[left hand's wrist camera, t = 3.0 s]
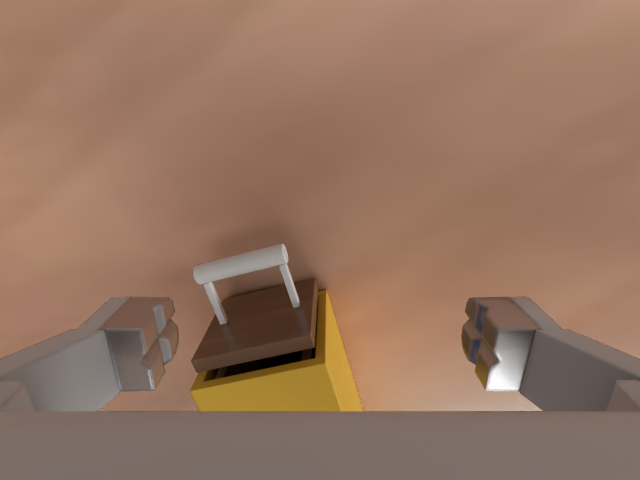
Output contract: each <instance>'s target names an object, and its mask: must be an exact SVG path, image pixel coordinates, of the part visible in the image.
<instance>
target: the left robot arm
mask: <svg viewBox="0 0 640 480" xmlns="http://www.w3.org/2000/svg"><path fill="white" fill-rule="evenodd" d="M174 312H175V310H174V305H173V301H172V300H171V299H170V298H169V297H132V296H126V297H111V298H110V299H109V300H108V301H107V302H106V303H105V304H104V305H102V306H101V307H100V308H99V309H98V310H97V311H96V312H95V313H94V314H93V315H92V316H91V317H90V318H89V319H87V320H86V321H85V322H84V323H83V324H82V325H81V326H80V327H79V328H78V329H77V330H68V331H66V332H64V333H61V334H59V335H56V336H54V337H52V338H49V339H47V340H44V341H42V342H40V343H37V344H35V345H32V346H30V347H28V348H25V349H23V350H21V351H18V352H16V353H13V354H11V355H9V356H6V357H4V358H1V359H0V480H640V359H638V358H636V357H634V356H631V355H629V354H627V353H624V352H622V351H619V350H617V349H615V348H612V347H610V346H607V345H605V344H603V343H600V342H598V341H595V340H593V339H591V338H588V337H586V336H584V335H581V334H579V333H576V332H574V331H572V330H563V329H562V328H561V327H560V326H559V325H558V324H557V323H556V322H555V321H554V320H553V319H552V318H550V317H549V316H548V315H547V314H546V313H545V312H544V311H543V310H542V309H541V308H540V307H539V306H538V305H537V304H535V303H534V302H533V301H532V300H531V299H530V298H528V297H525V296H519V297H480V298H469V300H468V302H467V304H466V309H465V312H466V314H467V315H468V317H469V318H470V319H469V320H468V321H467V322H466V323H465V324H464V325H463V328H462V335H461V337H462V347H463V350H464V353H465V355H466V357H467V359H468V360H469V361H471V362H472V363H474V364H475V365H476V368H475V373H476V375H477V376H478V378H479V380H480V381H481V383H482V385H483V387H484V388H485V390H486V391H520V393H521V394H522V395H523V396H525V397H526V398H527V399H528V400H530V401H531V402H532V403H534V404H535V405H536V406H538V407H539V408H540V409H542V410H543V411H97V410H98V409H100V408H101V407H102V406H104V405H105V404H106V403H108V402H109V401H110V400H112V399H113V398H114V397H116V396H117V395H118V394H120V391H154V390H155V388H156V387H157V385H158V383H159V381H160V380H161V378H162V376H163V375H164V373H165V368H164V365H165V364H166V363H168V362H169V361H171V360H172V359H173V357H174V355H175V353H176V350H177V346H178V327H177V325H176V324H175V323H174V322H173V321H172V320H171V319H170V318H171V317H172V315H173V314H174Z"/></svg>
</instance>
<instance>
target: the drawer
mask: <svg viewBox="0 0 640 480" xmlns="http://www.w3.org/2000/svg"><path fill="white" fill-rule="evenodd" d="M287 263H288V254H287V250H286V247H285V245H284V244H278V245H274V246H270V247H266V248H262V249H258V250H254V251H250V252H246V253H242V254H238V255H234V256H230V257H226V258H222V259H218V260H214V261H210V262H206V263H202V264H198V265H195V266H194V268H193V276H194V279H195V281H196V282H197V283H198V284H203V286H204V288H205V291H206V293H207V295H208V297H209V300H210V302H211V304H212V307H213V309H214V311H215V313H216V315H215V317H214V318H213V320H212V322H211V324H210V326H209V328H208V330H207V332H206V334H205V335H204V337H203V339H202V341H201V343H200V345H199V347H198V349H197V351H196V353H195V354H194V356H193V358H192V360H191V362H192V364H193V366H194V368H195V370H196V372H197V373H198V372H203V371H208V370H212V369H217V368H219V370H218V372H217V375H216V377H215V379H219V378H223V377H228V376H233V375H238V374H242V373H247V372H252V371H257V370H261V369H266V368H271V367H276V366H280V365H285V364H290V363H295V362H300V361H304V360H309V359H314V358H315V354H316V335H317V316H318V312H317V299H318V286H317V283H316V279H315V278H312V279H308V280H303V281H299V282H295V283H293V280H292V277H291V274H290V271H289V268H288V265H287ZM278 265H279V268H280V271H281V274H282V277H283V280H284V283H285V285H282V286H278V287H274V288H270V289H265V290H261V291H257V292H253V293H249V294H244V295H240V296H236V297H232V298H227V299H224V300H223V301H222V303H221V302H220V299H219V297H218V295H217V292H216V290H215V288H214V285H213V283H212V281H216V280H221V279H225V278H229V277H233V276H237V275H241V274H245V273H249V272H253V271H257V270H262V269H266V268H270V267H274V266H278Z"/></svg>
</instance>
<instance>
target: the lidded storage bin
mask: <svg viewBox="0 0 640 480" xmlns="http://www.w3.org/2000/svg"><path fill="white" fill-rule="evenodd" d="M317 312H318V316H317V335H316V354H315V358H314V359H309V360H304V361H300V362H295V363H290V364H285V365H280V366H276V367H271V368H266V369H261V370H257V371H252V372H247V373H242V374H238V375H233V376H228V377H223V378H219V379H215V377H216V375H217V372H218V370H219V368H217V369H212V370H208V371H203V372H199V373H198V376H197V378H196V380H195V382H194V384H193V385H192V388H191V390H190V393H191V395H192V397H193V399H194V401H195V403H196V405H197V407H198V409H199V411H363V408H362V405H361V401H360V398H359V395H358V391H357V388H356V385H355V382H354V378H353V375H352V372H351V368H350V365H349V362H348V359H347V355H346V352H345V349H344V345H343V342H342V339H341V336H340V332H339V329H338V326H337V322H336V319H335V316H334V313H333V309H332V306H331V303H330V299H329V296H328V293H327V290H322V291H318V299H317Z"/></svg>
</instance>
